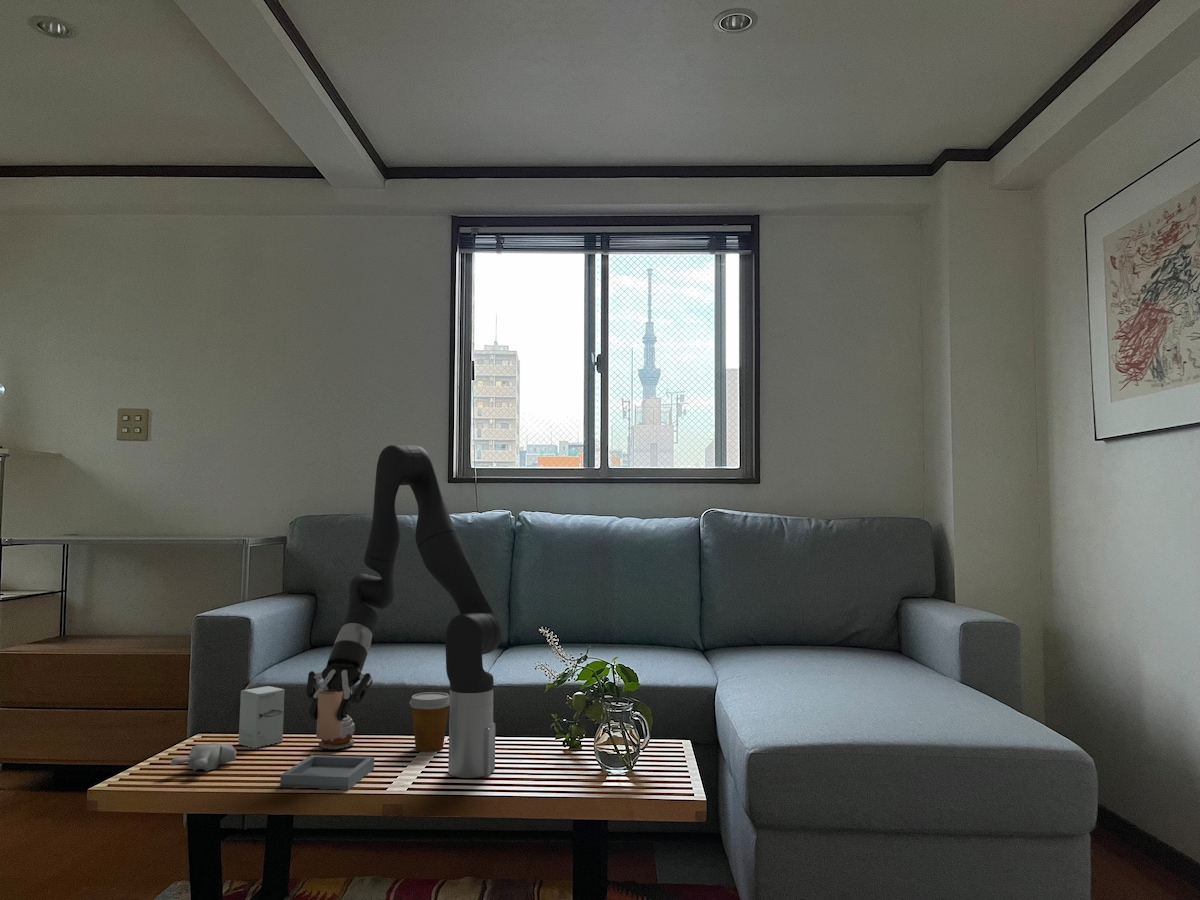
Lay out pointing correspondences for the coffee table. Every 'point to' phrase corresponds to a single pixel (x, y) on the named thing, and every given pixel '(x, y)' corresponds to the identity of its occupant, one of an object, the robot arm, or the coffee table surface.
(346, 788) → the tray
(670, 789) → the coffee table surface
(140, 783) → the coffee table surface
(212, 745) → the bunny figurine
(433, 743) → the disposable coffee cup
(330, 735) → the tumbler
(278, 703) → the supplement box
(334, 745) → the caramel apple
